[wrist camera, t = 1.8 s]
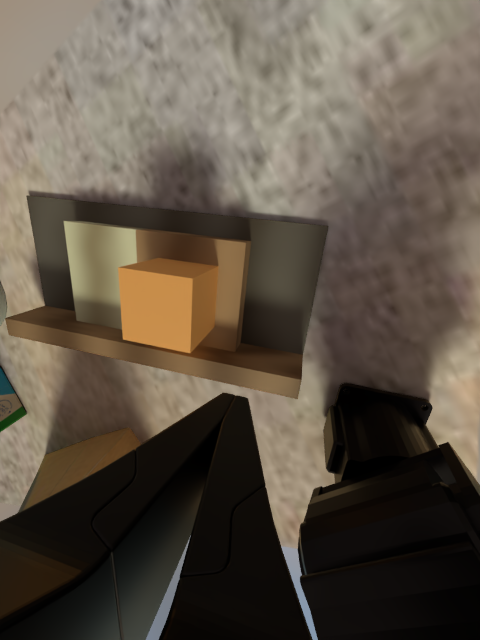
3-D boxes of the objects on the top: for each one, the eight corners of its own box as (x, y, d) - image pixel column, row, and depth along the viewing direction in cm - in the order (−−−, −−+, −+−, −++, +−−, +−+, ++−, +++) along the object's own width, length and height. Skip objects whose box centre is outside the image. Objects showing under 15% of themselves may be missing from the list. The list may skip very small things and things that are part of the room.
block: (218, 266, 19) (192, 278, 14) (214, 326, 20) (190, 353, 16) (158, 257, 19) (118, 267, 15) (159, 316, 21) (122, 339, 17)
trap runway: (327, 226, 18) (332, 226, 14) (299, 369, 22) (297, 398, 18) (29, 195, 22) (-25, 190, 19) (50, 319, 26) (8, 335, 23)
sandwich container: (43, 452, 34) (-134, 605, 21) (129, 423, 29) (-34, 605, 15) (81, 502, 36) (-59, 674, 22) (170, 484, 31) (56, 696, 17)
